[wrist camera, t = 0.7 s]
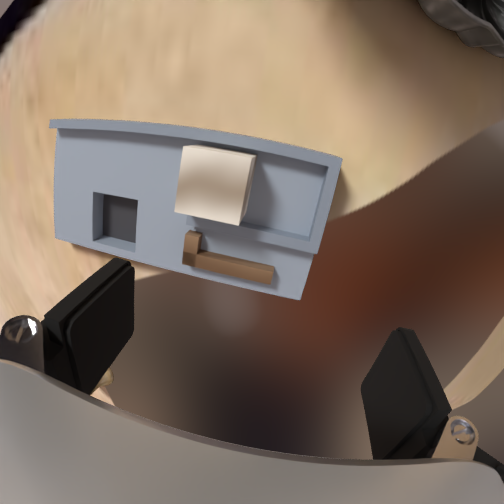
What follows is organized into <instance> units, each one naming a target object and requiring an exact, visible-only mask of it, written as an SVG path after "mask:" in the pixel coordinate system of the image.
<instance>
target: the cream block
mask: <svg viewBox="0 0 504 504" xmlns="http://www.w3.org/2000/svg"><path fill="white" fill-rule="evenodd" d="M257 156H258V155H256V154H251V153H246V152H241V151H235V150H230V149H224V148H218V147H212V146H206V145H200V144H199V145H190V146H183V151H182V158H181V164H180V171H179V178H178V186H177V194H176V202H175V210H174V212H177V213H181V214H186V215H191V216H196V217H200V218H205V219H210V220H214V221H219V222H224V223H228V224H233V225H237V226H239V224H240V222H241V221H242V219H243V217H244V215H245V213H246V211H247V206H248V201H249V196H250V191H251V186H252V181H253V176H254V171H255V166H256V161H257Z"/></svg>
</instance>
